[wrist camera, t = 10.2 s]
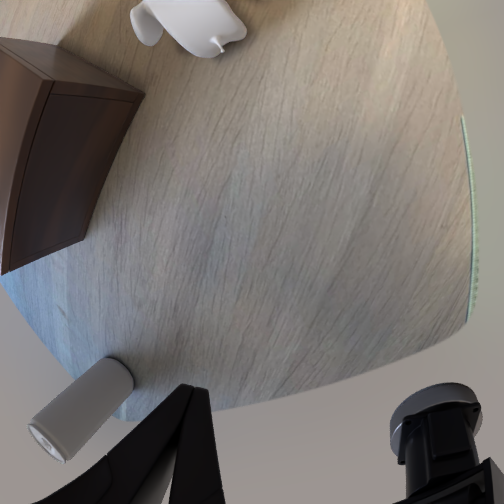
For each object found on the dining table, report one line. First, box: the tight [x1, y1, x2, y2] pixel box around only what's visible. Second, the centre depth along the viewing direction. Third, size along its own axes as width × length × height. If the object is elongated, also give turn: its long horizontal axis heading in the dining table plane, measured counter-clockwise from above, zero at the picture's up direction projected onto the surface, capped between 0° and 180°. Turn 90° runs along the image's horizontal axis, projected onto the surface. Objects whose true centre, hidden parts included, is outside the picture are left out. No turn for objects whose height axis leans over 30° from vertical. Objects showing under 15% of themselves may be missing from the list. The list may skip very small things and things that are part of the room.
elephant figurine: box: [130, 0, 247, 58], centre depth 14 cm, size 7×8×6 cm
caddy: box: [0, 37, 145, 272], centre depth 19 cm, size 14×14×8 cm
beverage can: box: [27, 358, 134, 464], centre depth 23 cm, size 5×5×12 cm
